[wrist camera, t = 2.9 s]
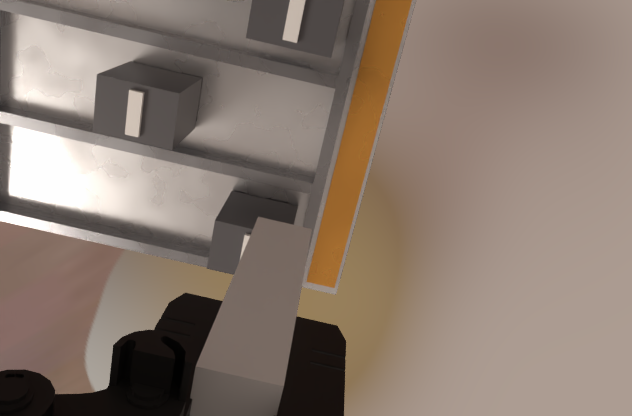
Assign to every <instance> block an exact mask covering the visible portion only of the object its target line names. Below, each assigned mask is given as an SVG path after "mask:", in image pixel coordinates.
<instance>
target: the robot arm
mask: <svg viewBox="0 0 632 416" xmlns="http://www.w3.org/2000/svg"><path fill="white" fill-rule="evenodd" d="M311 232H312V229H309V228H305V227H301V226H297V225H292V224H288V223H284V222H279V221H275V220H271V219H266V218H262V217H258V218H257V221H256V223H255V226H254V228H253V230H252V233H251V235H250V238H249V240H248V242H247V245H246V247H245V249H244V252H243V254H242V257H241V259H240V261H239V264H238V266H237V269H236V271H235V273H234V276H233V278H232V281H231V283H230V286H229V288H228V290H227V293H226V295H225V297H224V300H223V301H219V300H215V299H211V298H206V297H201V296H197V295H193V294H188V293H185V294H183V295H181V296H180V297H178V298H176V299H174V300H173V301H171V302H170V303H169V304H168V306H167V308H166V309H165V311H164V313H163V315H162V317H161V319H160V320H159V322H158V323H157V325H156V327H155V330H145V331H138V332H133V333H131V334H128V335H126V336H124V337H122V338H121V339H120V340H119V341H117V343H115V344H114V345H113V354H112V363H111V373H110V383H109V386H108V388H107V389H105V390H101V391H97V392H93V393H84V394H55V389H54V387H53V385H52V383H51V381H50V380H48V379H47V378H46V377H44V376H43V375H41V374H40V373H36V372H32V371H28V370H5V371H1V372H0V416H344V390H345V356H346V340H345V338H344V337H343V335H342V333H341V331H340V330H339V328H338V326H336V325H331V324H327V323H323V322H318V321H314V320H309V319H305V318H301V317H297V310H298V305H299V299H300V293H301V288H302V282H303V277H304V271H305V266H306V260H307V254H308V249H309V243H310V238H311Z"/></svg>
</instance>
